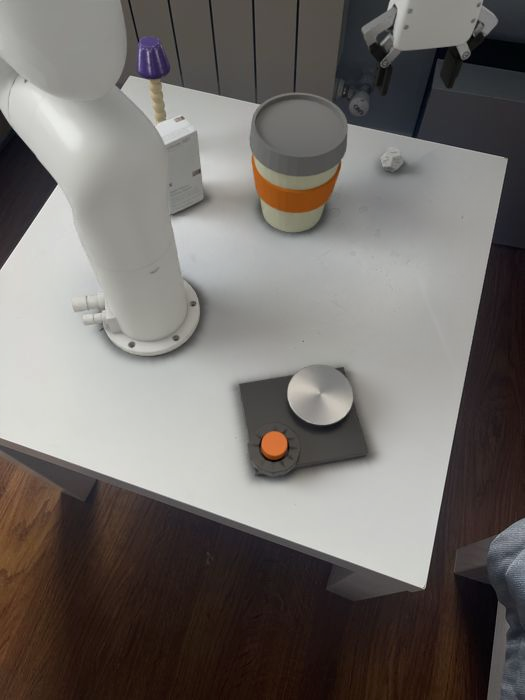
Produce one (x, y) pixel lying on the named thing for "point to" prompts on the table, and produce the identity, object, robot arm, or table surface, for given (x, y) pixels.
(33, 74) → the robot arm
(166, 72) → the toy lamp
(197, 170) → the cosmetic box
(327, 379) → the weighing pan
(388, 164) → the game die
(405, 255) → the table surface
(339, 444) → the scale
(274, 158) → the reusable coffee cup
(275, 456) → the tare button
